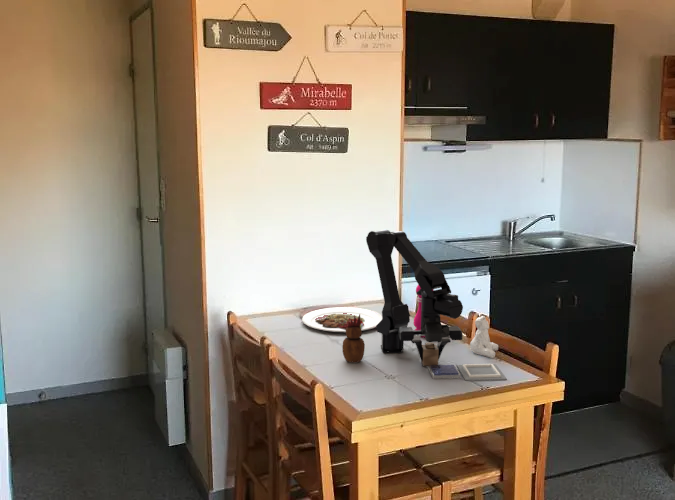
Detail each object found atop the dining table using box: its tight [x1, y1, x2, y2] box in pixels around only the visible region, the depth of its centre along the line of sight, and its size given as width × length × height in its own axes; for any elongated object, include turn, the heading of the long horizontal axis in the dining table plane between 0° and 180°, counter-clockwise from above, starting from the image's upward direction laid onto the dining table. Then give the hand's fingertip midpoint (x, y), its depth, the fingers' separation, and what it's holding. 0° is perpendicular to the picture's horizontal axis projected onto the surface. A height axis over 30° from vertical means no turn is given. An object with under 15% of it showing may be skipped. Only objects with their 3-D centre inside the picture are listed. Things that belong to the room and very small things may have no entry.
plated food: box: [301, 306, 382, 333], centre depth 262 cm, size 30×30×3 cm
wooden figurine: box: [342, 314, 366, 364], centre depth 221 cm, size 7×6×15 cm
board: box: [456, 363, 508, 382], centre depth 212 cm, size 12×12×1 cm
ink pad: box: [427, 364, 462, 380], centre depth 211 cm, size 8×8×1 cm
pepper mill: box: [413, 284, 435, 330], centre depth 246 cm, size 7×7×20 cm
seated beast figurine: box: [469, 315, 499, 359], centre depth 229 cm, size 10×9×12 cm
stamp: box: [420, 342, 439, 368], centre depth 219 cm, size 4×4×6 cm
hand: (429, 360), depth 219 cm, fingers closed on stamp, 4 cm apart
